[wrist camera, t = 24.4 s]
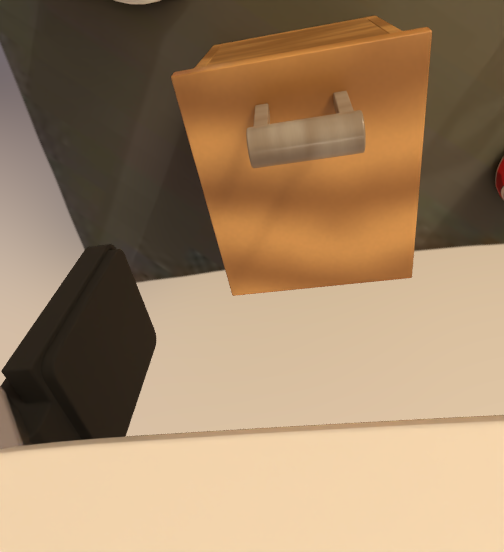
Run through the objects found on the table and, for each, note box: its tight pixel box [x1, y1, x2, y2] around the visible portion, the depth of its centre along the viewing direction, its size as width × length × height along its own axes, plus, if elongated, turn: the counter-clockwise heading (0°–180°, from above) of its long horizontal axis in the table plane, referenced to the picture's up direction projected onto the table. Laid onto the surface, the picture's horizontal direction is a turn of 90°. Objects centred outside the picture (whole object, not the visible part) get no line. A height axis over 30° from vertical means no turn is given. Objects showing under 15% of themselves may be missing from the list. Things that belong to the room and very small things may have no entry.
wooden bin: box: [194, 16, 402, 69], centre depth 33 cm, size 15×13×13 cm
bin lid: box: [171, 27, 432, 296], centre depth 25 cm, size 15×13×6 cm
